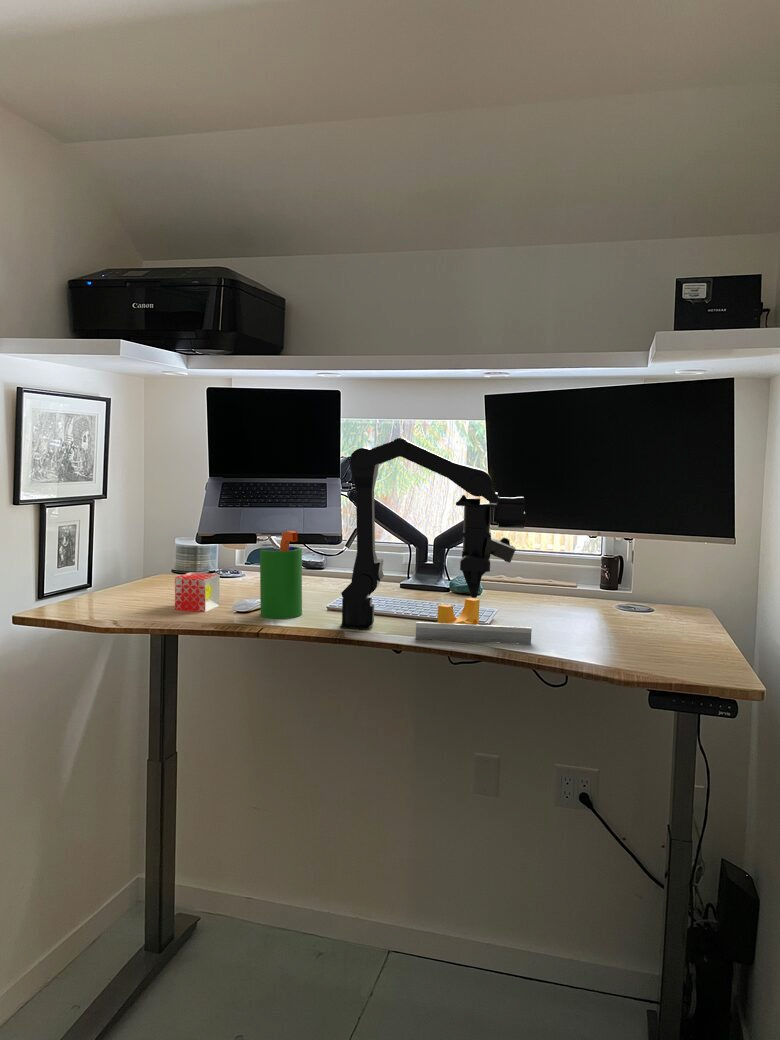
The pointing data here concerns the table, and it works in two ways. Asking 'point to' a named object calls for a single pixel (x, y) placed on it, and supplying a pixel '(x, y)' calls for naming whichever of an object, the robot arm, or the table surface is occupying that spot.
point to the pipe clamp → (466, 617)
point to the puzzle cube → (197, 592)
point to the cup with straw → (281, 580)
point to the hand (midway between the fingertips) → (474, 597)
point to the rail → (473, 632)
